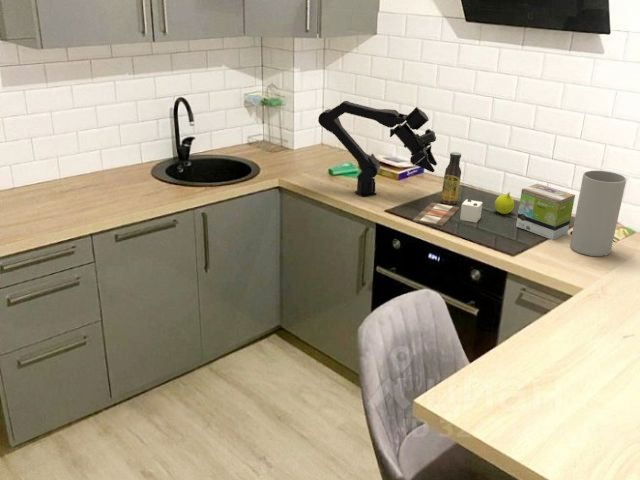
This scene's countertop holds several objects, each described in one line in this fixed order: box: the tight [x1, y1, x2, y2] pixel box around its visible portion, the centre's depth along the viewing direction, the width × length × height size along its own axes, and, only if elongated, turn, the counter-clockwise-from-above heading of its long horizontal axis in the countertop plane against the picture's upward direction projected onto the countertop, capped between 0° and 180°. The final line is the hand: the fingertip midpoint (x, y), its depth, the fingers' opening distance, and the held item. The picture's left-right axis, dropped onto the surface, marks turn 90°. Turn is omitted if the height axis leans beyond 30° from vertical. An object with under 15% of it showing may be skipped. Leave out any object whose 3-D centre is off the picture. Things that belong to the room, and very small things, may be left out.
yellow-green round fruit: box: [494, 191, 515, 215], centre depth 237 cm, size 7×7×10 cm
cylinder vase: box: [569, 170, 627, 257], centre depth 205 cm, size 12×12×25 cm
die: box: [459, 198, 484, 223], centre depth 232 cm, size 6×6×7 cm
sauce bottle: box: [440, 151, 462, 206], centre depth 245 cm, size 6×6×20 cm
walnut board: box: [412, 202, 460, 228], centre depth 236 cm, size 21×11×1 cm, turn 152°
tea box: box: [515, 183, 576, 241], centre depth 221 cm, size 15×10×15 cm
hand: (435, 168), depth 245 cm, fingers open, 9 cm apart
